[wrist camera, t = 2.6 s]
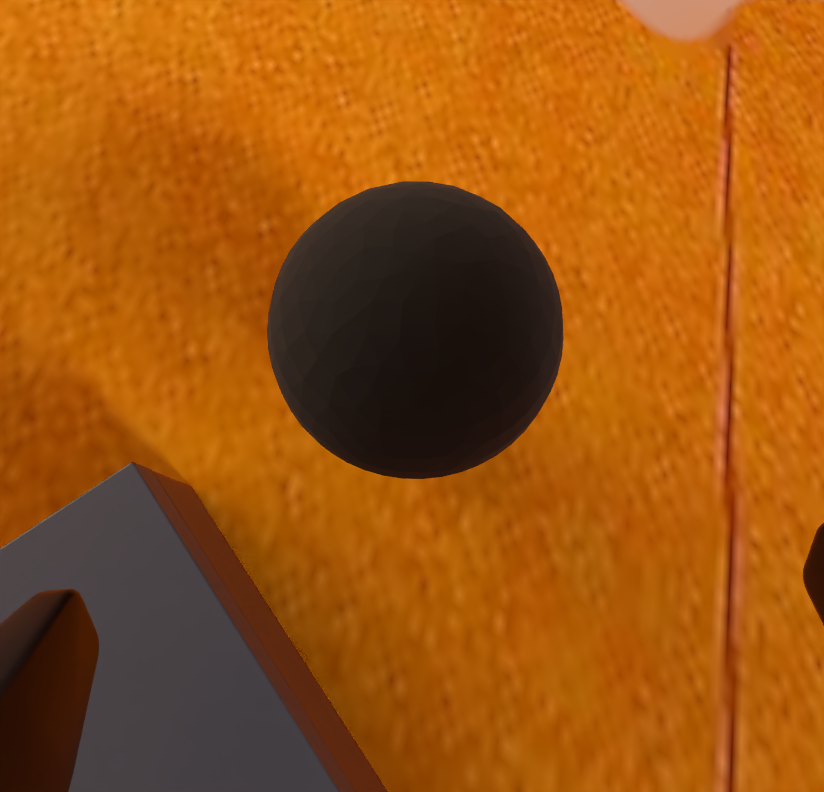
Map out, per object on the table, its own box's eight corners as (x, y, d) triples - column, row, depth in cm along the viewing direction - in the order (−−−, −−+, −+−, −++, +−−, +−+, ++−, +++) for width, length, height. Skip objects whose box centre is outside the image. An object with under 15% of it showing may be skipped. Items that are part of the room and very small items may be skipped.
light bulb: (415, 290, 21) (431, 54, 12) (543, 421, 20) (678, 283, 10) (273, 407, 20) (160, 254, 10) (401, 553, 19) (407, 533, 9)
